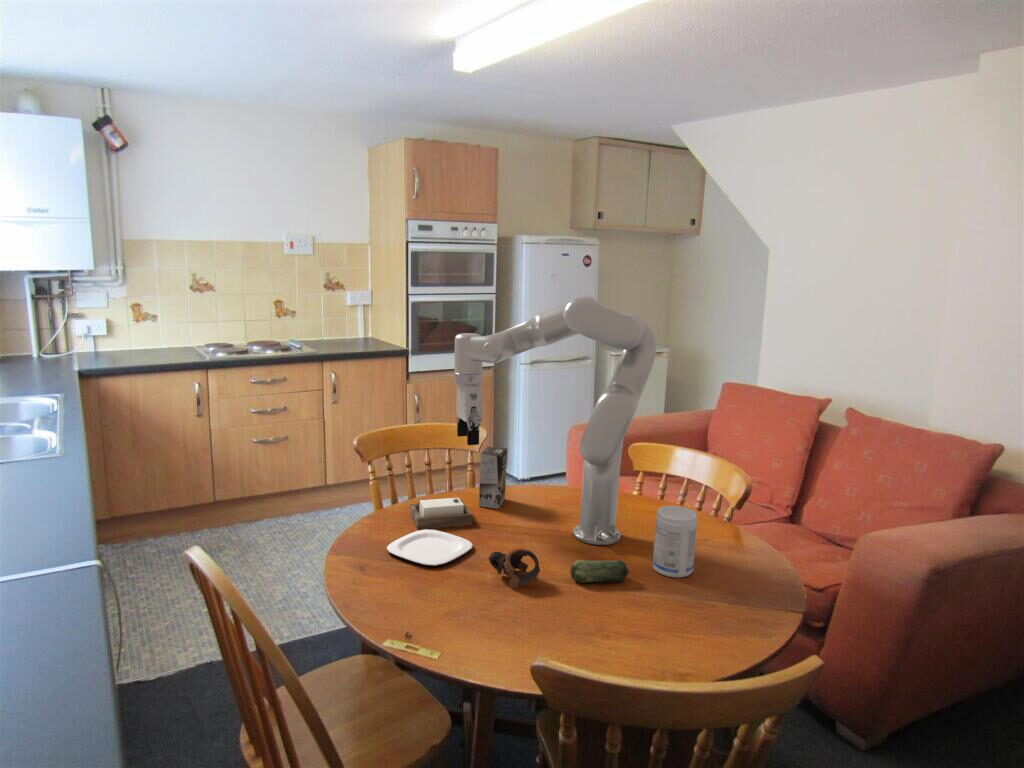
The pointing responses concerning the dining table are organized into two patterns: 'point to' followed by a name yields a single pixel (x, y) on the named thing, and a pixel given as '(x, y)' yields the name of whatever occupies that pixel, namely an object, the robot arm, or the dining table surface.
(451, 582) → the dining table surface
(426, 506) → the white foam brick
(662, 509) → the supplement tub
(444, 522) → the brown wooden tray
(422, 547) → the plate
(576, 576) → the vegetable
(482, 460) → the coffee box
